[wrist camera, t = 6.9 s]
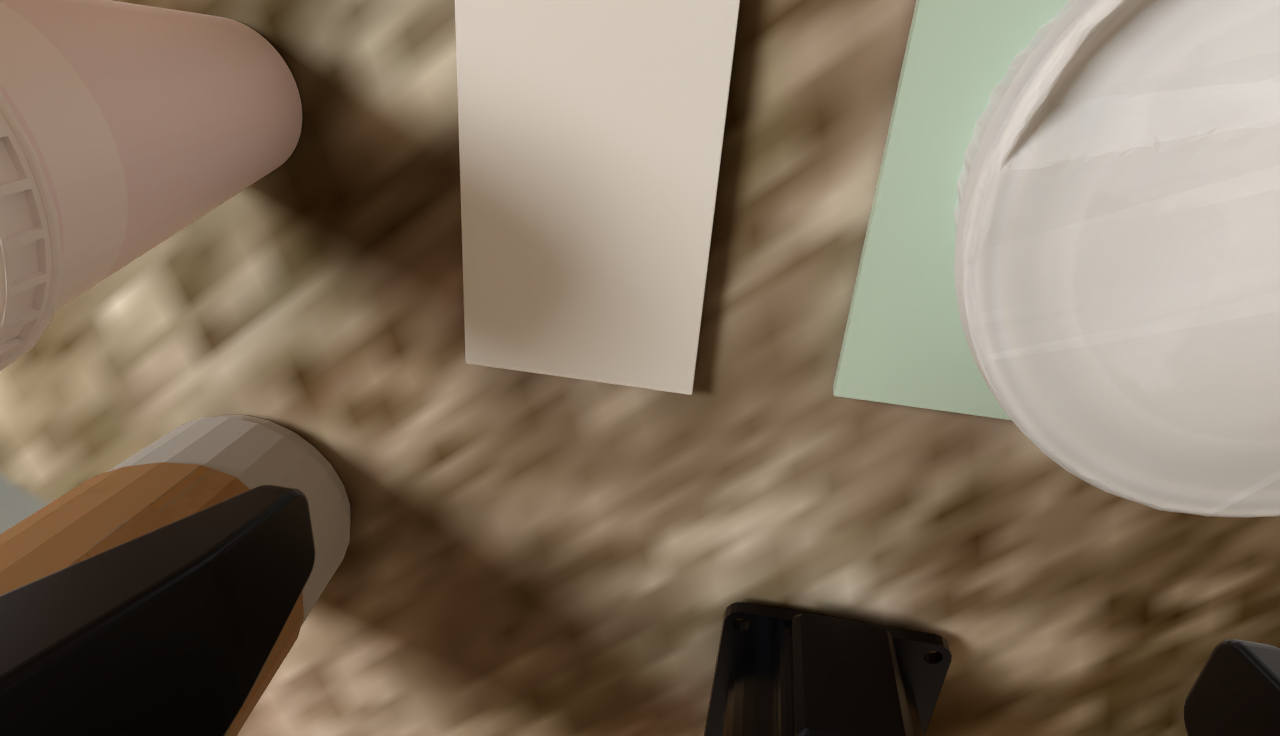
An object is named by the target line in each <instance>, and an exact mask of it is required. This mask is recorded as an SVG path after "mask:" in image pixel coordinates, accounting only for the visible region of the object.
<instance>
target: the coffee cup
mask: <svg viewBox="0 0 1280 736" xmlns="http://www.w3.org/2000/svg"><path fill="white" fill-rule="evenodd" d="M261 485H276V486H283V487H289V488H295V489H299V490H301V491H302V492H303V493H304V494H305V495H306V497H307V499H308V503H309V510H310V516H311V523H312V530H313V537H314V544H315V562H314V566H313V569H312V572H311V575H310V577H309V579H308V581H307V583H306V585H305V587H304V589H303V591H302V593H301V595H300V597H299V599H298V600H297V602H296V604H295V606H294V608H293V610H292V612H291V614H290V616H289V618H288V620H287V622H286V624H285V626H284V628H283V630H282V632H281V634H280V636H279V638H278V640H277V642H276V644H275V646H274V648H273V650H272V652H271V653H270V655H269V657H268V659H267V661H266V663H265V665H264V667H263V669H262V671H261V673H260V675H259V677H258V679H257V681H256V683H255V685H254V687H253V688H252V690H251V692H250V694H249V696H248V698H247V699H246V701H245V703H244V705H243V707H242V708H241V710H240V712H239V713H238V715H237V716H236V718H235V720H234V721H233V723H232V725H231V726H230V728H229V729H228V731H227V733H226V734H225V736H237V734H238V733H239V731H240V729H241V728H242V726H243V725H244V723H245V721H246V720H247V718H248V717H249V715H250V713H251V712H252V710H253V709H254V707H255V705H256V704H257V702H258V701H259V699H260V697H261V696H262V694H263V693H264V691H265V689H266V688H267V686H268V684H269V683H270V681H271V680H272V678H273V676H274V675H275V673H276V672H277V670H278V668H279V667H280V665H281V664H282V662H283V660H284V659H285V657H286V656H287V654H288V652H289V651H290V649H291V648H292V646H293V644H294V643H295V641H296V639H297V637H298V634H299V631H300V628H301V626H302V624H303V622H304V621H305V619H306V618H307V616H308V615H309V613H310V611H311V610H312V608H313V607H314V605H315V603H316V602H317V600H318V599H319V597H320V595H321V594H322V592H323V591H324V589H325V588H326V586H327V584H328V583H329V581H330V580H331V578H332V576H333V575H334V573H335V572H336V570H337V569H338V567H339V565H340V564H341V562H342V561H343V559H344V556H345V553H346V550H347V547H348V544H349V542H350V525H351V522H350V503H349V500H348V497H347V494H346V490H345V487H344V485H343V483H342V481H341V480H340V478H339V476H338V475H337V473H336V471H335V470H334V468H333V466H332V465H331V464H330V463H329V462H328V461H327V460H326V459H325V457H324V456H323V455H322V454H321V453H320V452H319V451H318V450H317V449H316V448H315V447H314V446H313V445H311V444H310V443H309V442H307V441H306V440H304V439H303V438H302V437H300V436H299V435H297V434H296V433H295V432H293V431H291V430H289V429H287V428H285V427H282V426H280V425H278V424H276V423H274V422H272V421H269V420H265V419H260V418H256V417H252V416H247V415H223V416H219V417H204V418H200V419H197V420H194V421H191V422H187V423H184V424H182V425H180V426H179V427H177V428H176V429H174V430H172V431H171V432H169V433H168V434H166V435H164V436H163V437H161V438H160V439H158V440H156V441H155V442H153V443H152V444H150V445H148V446H147V447H145V448H144V449H142V450H141V451H139V452H137V453H136V454H134V455H133V456H131V457H129V458H128V459H126V460H125V461H123V462H121V463H120V464H118V465H117V466H115V467H113V468H112V469H110V470H109V471H107V472H106V473H103V474H100V475H97V476H94V477H92V478H90V479H89V480H87V481H86V482H84V483H82V484H81V485H79V486H78V487H76V488H74V489H73V490H71V491H70V492H68V493H66V494H65V495H63V496H61V497H60V498H58V499H57V500H55V501H53V502H52V503H50V504H49V505H47V506H45V507H44V508H42V509H41V510H39V511H37V512H36V513H34V514H33V515H31V516H29V517H28V518H26V519H24V520H23V521H21V522H20V523H18V524H16V525H15V526H13V527H12V528H10V529H8V530H7V531H5V532H4V533H2V534H0V595H3V594H5V593H7V592H10V591H12V590H14V589H17V588H19V587H21V586H24V585H26V584H29V583H31V582H33V581H36V580H38V579H40V578H43V577H45V576H47V575H50V574H52V573H55V572H57V571H59V570H62V569H64V568H66V567H69V566H71V565H74V564H76V563H78V562H81V561H83V560H85V559H88V558H90V557H92V556H95V555H97V554H100V553H102V552H104V551H107V550H109V549H111V548H114V547H116V546H118V545H121V544H123V543H126V542H128V541H130V540H133V539H135V538H137V537H140V536H142V535H144V534H147V533H149V532H152V531H154V530H156V529H159V528H161V527H163V526H166V525H168V524H171V523H173V522H175V521H178V520H180V519H182V518H185V517H187V516H189V515H192V514H194V513H197V512H199V511H201V510H204V509H206V508H208V507H211V506H213V505H215V504H218V503H220V502H223V501H225V500H227V499H230V498H232V497H234V496H237V495H239V494H242V493H244V492H246V491H249V490H251V489H253V488H256V487H258V486H261Z"/></svg>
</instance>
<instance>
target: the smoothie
mask: <svg viewBox="0 0 1280 736" xmlns="http://www.w3.org/2000/svg"><path fill="white" fill-rule="evenodd" d="M301 129H302V105H301V99H300V95H299V91H298V88H297V85H296V82H295V80H294V78H293V75H292V73H291V71H290V69H289V68H288V66H287V64H286V63H285V61H284V60H283V58H282V57H281V55H280V54H279V53H278V52H277V50H276V49H275V48H274V47H273V46H272V45H271V44H270V43H269V42H268V41H267V40H266V39H265V38H264V37H262V36H261V35H260V34H259V33H257V32H256V31H255V30H253V29H251V28H250V27H248V26H246V25H244V24H242V23H240V22H238V21H235V20H232V19H229V18H225V17H219V16H212V15H205V14H198V13H192V12H185V11H178V10H172V9H165V8H158V7H151V6H145V5H138V4H131V3H124V2H118V1H111V0H0V371H1V370H2V369H4V368H5V367H7V366H8V365H10V364H11V363H12V362H14V361H15V360H17V359H18V358H20V357H21V356H23V355H24V354H26V353H27V352H28V351H30V350H31V349H33V348H34V346H35V345H36V343H37V341H38V340H39V338H40V337H41V335H42V333H43V332H44V330H45V328H46V327H47V325H48V324H49V322H50V320H51V319H52V317H53V316H54V314H55V310H57V309H59V308H60V307H62V306H64V305H65V304H67V303H69V302H70V301H72V300H73V299H75V298H77V297H78V296H80V295H82V294H83V293H85V292H86V291H88V290H90V289H91V288H93V287H94V286H95V285H96V284H98V283H99V282H101V281H102V280H104V279H105V278H107V277H108V276H110V275H112V274H113V273H115V272H116V271H118V270H119V269H121V268H122V267H124V266H126V265H127V264H129V263H130V262H132V261H133V260H135V259H136V258H138V257H140V256H141V255H143V254H144V253H146V252H147V251H149V250H150V249H152V248H154V247H155V246H157V245H158V244H160V243H161V242H163V241H164V240H166V239H168V238H169V237H171V236H172V235H174V234H175V233H177V232H178V231H180V230H182V229H183V228H185V227H186V226H188V225H189V224H191V223H193V222H194V221H196V220H197V219H199V218H200V217H202V216H203V215H205V214H207V213H208V212H210V211H211V210H213V209H214V208H216V207H217V206H219V205H221V204H222V203H224V202H225V201H227V200H228V199H230V198H231V197H233V196H235V195H236V194H238V193H239V192H241V191H242V190H244V189H245V188H247V187H249V186H250V185H252V184H253V183H255V182H256V181H258V180H259V179H261V178H263V177H264V176H266V175H267V174H269V173H270V172H272V171H273V170H275V169H277V168H278V167H280V166H281V165H282V164H283V163H285V162H286V160H287V159H288V158H289V157H290V156H291V154H292V153H293V151H294V150H295V148H296V146H297V143H298V141H299V137H300V134H301Z"/></svg>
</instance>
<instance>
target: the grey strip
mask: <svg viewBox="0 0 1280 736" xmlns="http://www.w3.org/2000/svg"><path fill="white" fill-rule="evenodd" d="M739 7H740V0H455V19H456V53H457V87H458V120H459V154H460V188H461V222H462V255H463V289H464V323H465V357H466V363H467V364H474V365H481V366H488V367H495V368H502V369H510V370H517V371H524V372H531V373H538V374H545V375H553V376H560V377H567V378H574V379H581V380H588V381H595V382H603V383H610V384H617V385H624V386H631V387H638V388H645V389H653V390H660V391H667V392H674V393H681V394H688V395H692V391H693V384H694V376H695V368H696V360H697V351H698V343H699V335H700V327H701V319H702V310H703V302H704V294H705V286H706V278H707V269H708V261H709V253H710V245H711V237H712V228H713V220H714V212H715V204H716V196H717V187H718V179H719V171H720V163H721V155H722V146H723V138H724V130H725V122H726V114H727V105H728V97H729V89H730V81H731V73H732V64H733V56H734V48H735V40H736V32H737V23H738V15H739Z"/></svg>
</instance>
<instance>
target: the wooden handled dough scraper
mask: <svg viewBox="0 0 1280 736" xmlns="http://www.w3.org/2000/svg"><path fill="white" fill-rule="evenodd" d="M1068 1H1069V0H916V5H915V10H914V14H913V19H912V23H911V28H910V33H909V37H908V42H907V47H906V51H905V56H904V61H903V65H902V70H901V75H900V79H899V84H898V88H897V93H896V98H895V102H894V107H893V112H892V116H891V121H890V126H889V130H888V135H887V139H886V144H885V149H884V153H883V158H882V163H881V167H880V172H879V177H878V181H877V186H876V191H875V195H874V200H873V204H872V209H871V214H870V218H869V223H868V228H867V232H866V237H865V242H864V246H863V251H862V256H861V260H860V265H859V269H858V274H857V279H856V283H855V288H854V293H853V297H852V302H851V307H850V311H849V316H848V321H847V325H846V330H845V334H844V339H843V344H842V348H841V353H840V358H839V362H838V367H837V372H836V376H835V381H834V385H833V392H834V396H839V397H846V398H853V399H861V400H868V401H875V402H883V403H890V404H897V405H904V406H912V407H919V408H926V409H933V410H941V411H948V412H955V413H963V414H970V415H977V416H984V417H992V418H999V419H1006V420H1011V419H1010V418H1009V417H1008V415H1007V414H1006V413H1005V411H1004V410H1003V408H1002V407H1001V406H1000V404H999V403H998V401H997V400H996V398H995V397H994V395H993V394H992V392H991V391H990V389H989V387H988V386H987V384H986V382H985V380H984V378H983V376H982V375H981V373H980V371H979V369H978V367H977V365H976V363H975V361H974V359H973V356H972V354H971V352H970V349H969V346H968V343H967V340H966V337H965V334H964V331H963V327H962V323H961V319H960V315H959V309H958V303H957V296H956V288H955V275H954V265H955V238H956V225H955V220H954V211H955V208H956V204H957V199H958V193H957V181H958V179H959V177H960V174H961V172H962V170H963V164H964V154H965V151H966V149H967V147H968V145H969V143H970V141H971V139H972V136H973V132H974V127H975V124H976V122H977V120H978V118H979V117H980V116H981V114H982V113H983V112H984V110H985V109H986V107H987V105H988V101H989V98H990V94H991V92H992V90H993V89H994V87H995V86H996V85H997V84H998V83H999V82H1000V81H1001V80H1002V79H1003V77H1004V76H1005V75H1006V73H1007V71H1008V68H1009V66H1010V63H1011V61H1012V60H1013V59H1014V57H1015V56H1016V55H1017V54H1018V53H1020V52H1021V51H1022V50H1023V49H1025V47H1026V46H1027V45H1028V44H1029V42H1030V41H1031V39H1032V37H1033V36H1034V34H1035V33H1036V32H1037V31H1038V29H1039V28H1040V27H1042V26H1043V25H1045V24H1046V23H1047V22H1049V21H1050V20H1051V19H1052V18H1053V17H1054V16H1055V15H1056V14H1057V13H1058V12H1059V11H1060V9H1061V8H1062V7H1063V6H1064V5H1065V4H1066V3H1067V2H1068Z"/></svg>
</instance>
